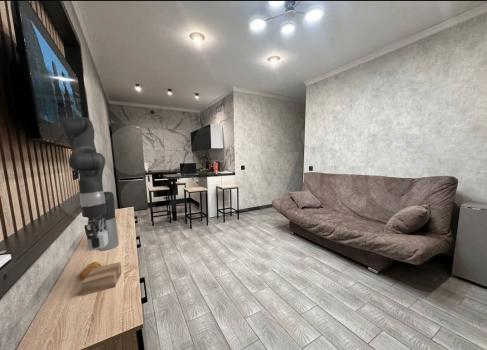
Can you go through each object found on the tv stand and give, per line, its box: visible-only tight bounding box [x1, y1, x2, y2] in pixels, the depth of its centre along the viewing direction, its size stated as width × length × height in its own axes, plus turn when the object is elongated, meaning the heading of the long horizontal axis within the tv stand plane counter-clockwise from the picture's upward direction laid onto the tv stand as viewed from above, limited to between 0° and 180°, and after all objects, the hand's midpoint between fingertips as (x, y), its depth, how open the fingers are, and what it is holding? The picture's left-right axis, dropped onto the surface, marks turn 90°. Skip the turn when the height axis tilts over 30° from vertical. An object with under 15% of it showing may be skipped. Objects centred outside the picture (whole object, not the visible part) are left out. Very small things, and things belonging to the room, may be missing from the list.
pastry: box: [80, 261, 103, 281], centre depth 80 cm, size 9×7×4 cm
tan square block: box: [81, 261, 122, 296], centre depth 73 cm, size 10×10×5 cm
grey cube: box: [86, 231, 109, 251], centre depth 72 cm, size 5×5×5 cm
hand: (98, 244), depth 72 cm, fingers closed on grey cube, 5 cm apart
